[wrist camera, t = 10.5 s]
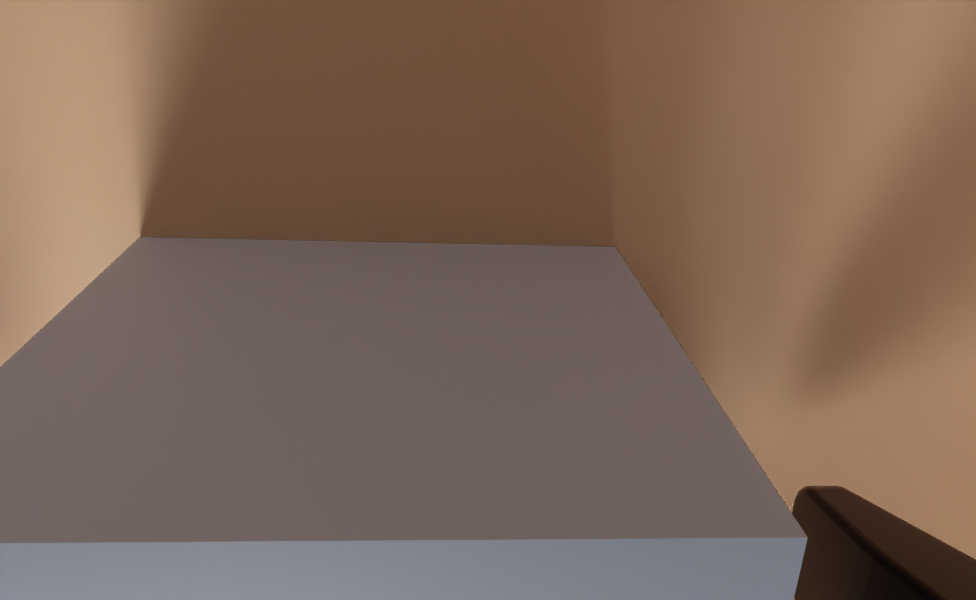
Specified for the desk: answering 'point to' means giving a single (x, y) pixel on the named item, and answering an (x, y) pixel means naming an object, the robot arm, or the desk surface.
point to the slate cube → (375, 434)
